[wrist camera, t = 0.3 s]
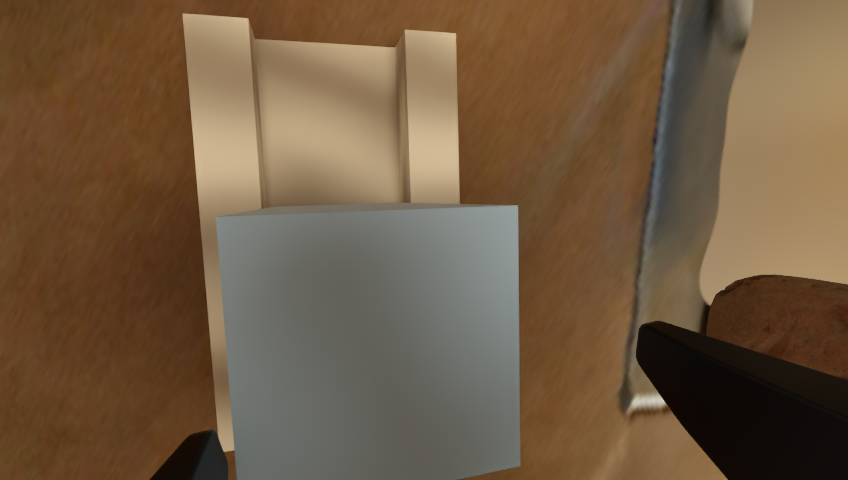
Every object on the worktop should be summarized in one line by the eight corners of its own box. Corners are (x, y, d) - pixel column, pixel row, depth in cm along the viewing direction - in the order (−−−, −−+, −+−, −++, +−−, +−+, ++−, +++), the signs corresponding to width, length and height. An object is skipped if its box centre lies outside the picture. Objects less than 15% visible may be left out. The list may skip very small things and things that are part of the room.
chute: (446, 387, 25) (464, 411, 22) (231, 419, 22) (219, 452, 19) (437, 54, 23) (455, 33, 20) (200, 40, 20) (182, 13, 17)
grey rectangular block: (397, 312, 23) (520, 466, 10) (282, 324, 22) (240, 525, 8) (393, 202, 23) (517, 204, 9) (274, 206, 21) (215, 217, 8)
